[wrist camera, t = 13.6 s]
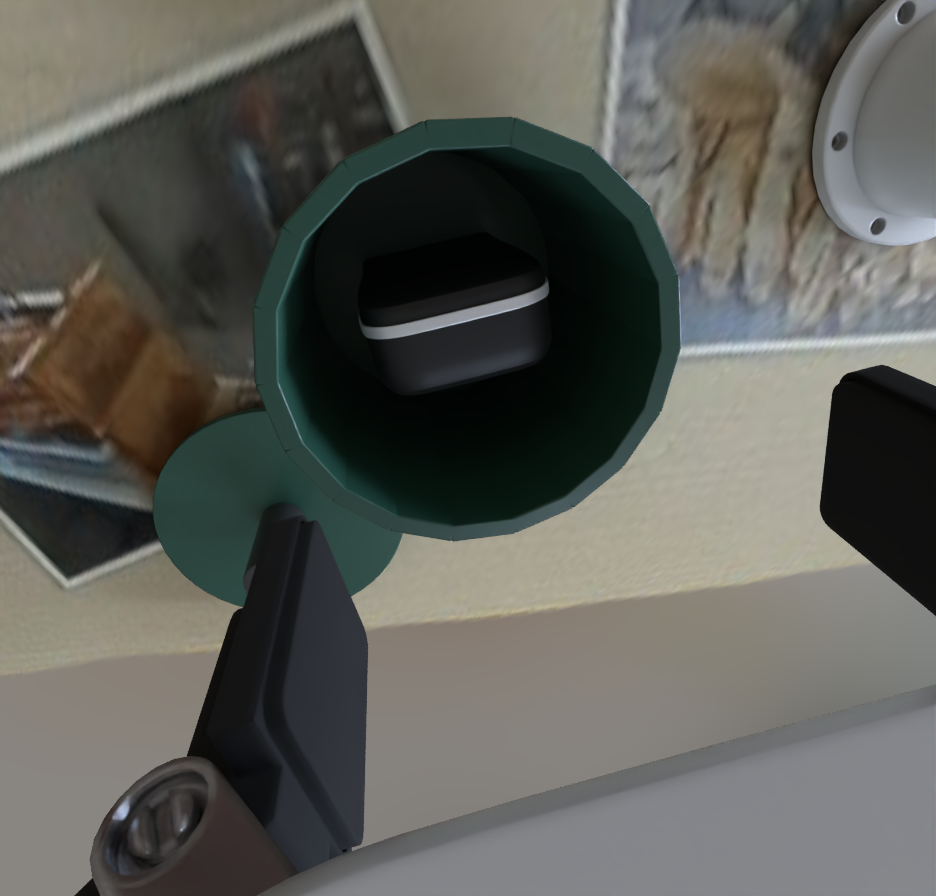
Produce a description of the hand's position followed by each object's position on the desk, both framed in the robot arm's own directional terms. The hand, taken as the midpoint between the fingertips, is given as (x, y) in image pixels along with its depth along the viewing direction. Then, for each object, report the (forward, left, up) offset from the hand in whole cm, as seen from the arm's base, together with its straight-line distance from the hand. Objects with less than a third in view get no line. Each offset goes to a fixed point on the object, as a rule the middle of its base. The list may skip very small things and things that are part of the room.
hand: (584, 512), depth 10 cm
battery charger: (+1, 0, -22) cm, 22 cm away
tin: (0, 0, -22) cm, 22 cm away
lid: (+12, +11, -22) cm, 27 cm away
